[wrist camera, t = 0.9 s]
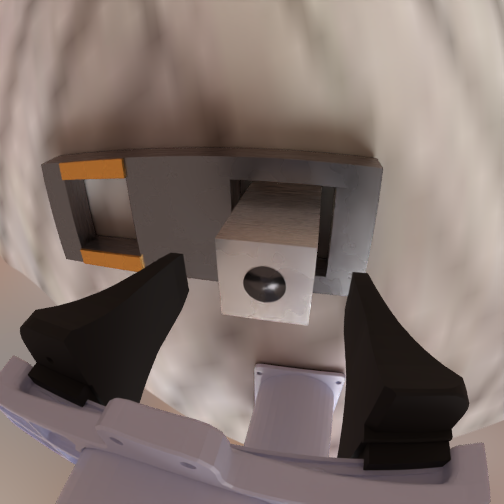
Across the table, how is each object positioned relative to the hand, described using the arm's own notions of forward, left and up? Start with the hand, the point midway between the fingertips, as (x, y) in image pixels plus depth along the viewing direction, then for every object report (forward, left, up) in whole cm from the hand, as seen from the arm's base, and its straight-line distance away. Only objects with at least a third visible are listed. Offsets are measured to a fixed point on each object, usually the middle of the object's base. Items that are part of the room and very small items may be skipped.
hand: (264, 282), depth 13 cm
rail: (0, +6, -7) cm, 9 cm away
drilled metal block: (0, 0, -7) cm, 7 cm away
